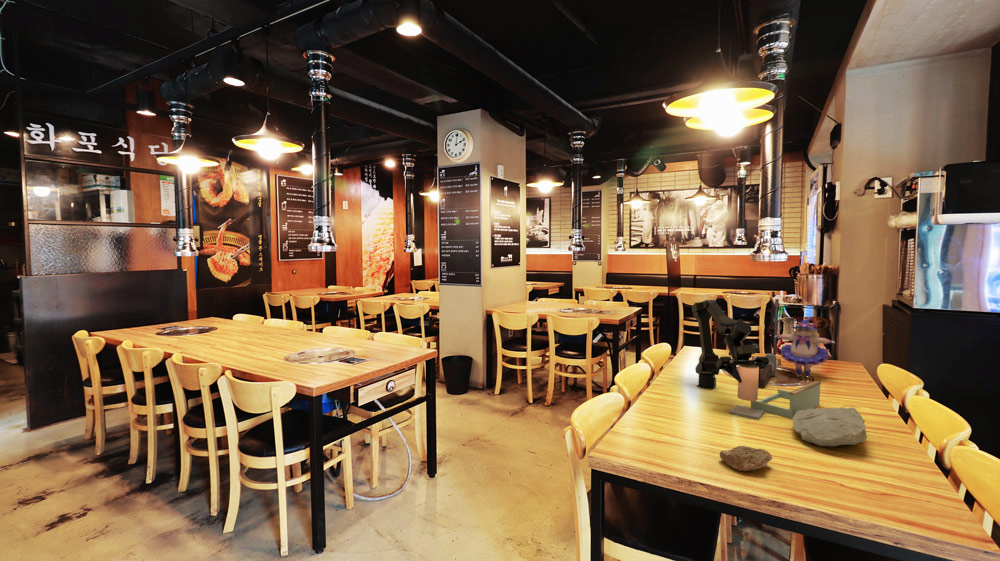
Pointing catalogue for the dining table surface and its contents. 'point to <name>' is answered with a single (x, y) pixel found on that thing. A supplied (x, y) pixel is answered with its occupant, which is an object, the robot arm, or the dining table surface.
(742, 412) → the metal tile
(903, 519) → the dining table surface
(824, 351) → the toy
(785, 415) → the cold frame
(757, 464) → the rock
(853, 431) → the stone
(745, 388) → the pink cup
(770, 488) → the dining table surface
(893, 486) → the dining table surface
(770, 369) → the hammer
